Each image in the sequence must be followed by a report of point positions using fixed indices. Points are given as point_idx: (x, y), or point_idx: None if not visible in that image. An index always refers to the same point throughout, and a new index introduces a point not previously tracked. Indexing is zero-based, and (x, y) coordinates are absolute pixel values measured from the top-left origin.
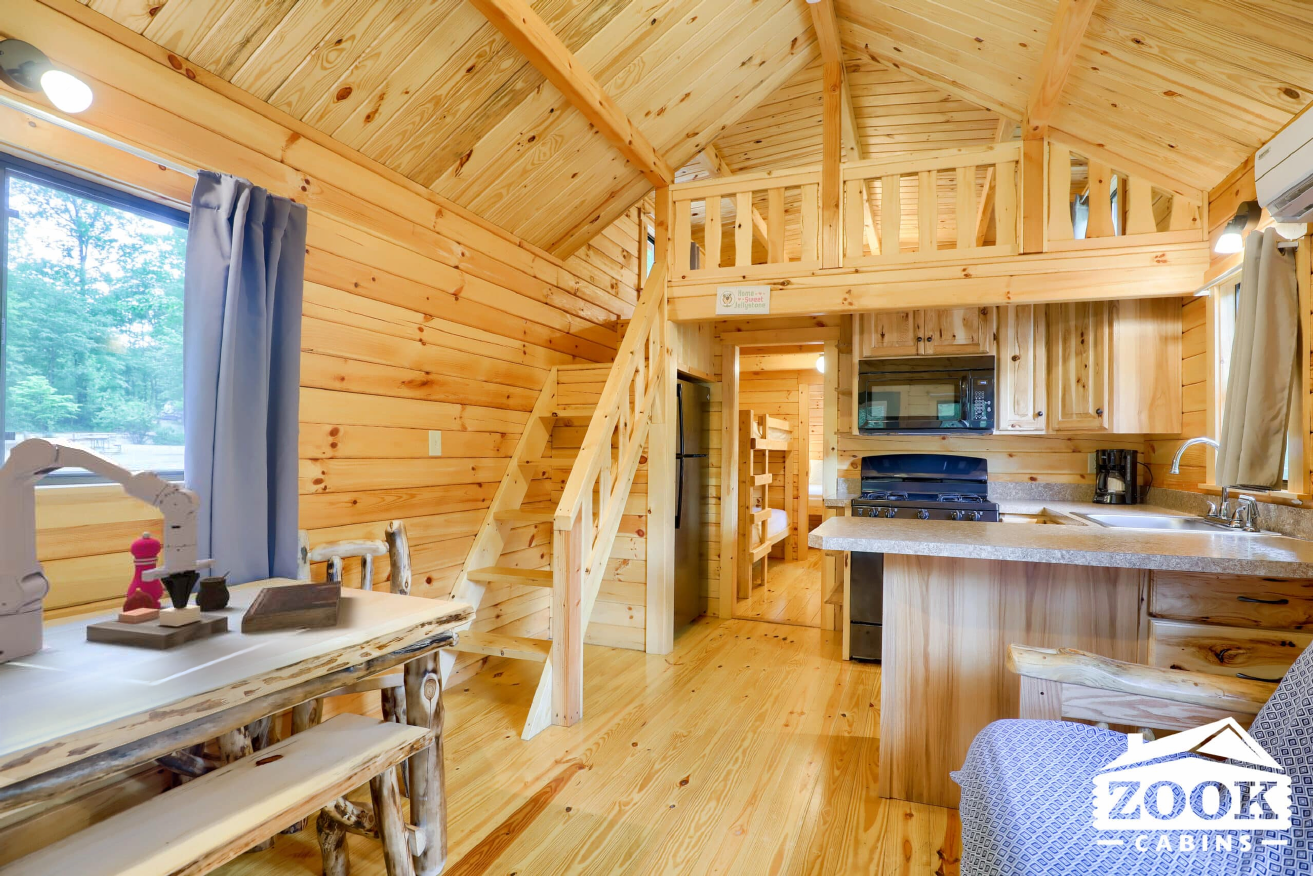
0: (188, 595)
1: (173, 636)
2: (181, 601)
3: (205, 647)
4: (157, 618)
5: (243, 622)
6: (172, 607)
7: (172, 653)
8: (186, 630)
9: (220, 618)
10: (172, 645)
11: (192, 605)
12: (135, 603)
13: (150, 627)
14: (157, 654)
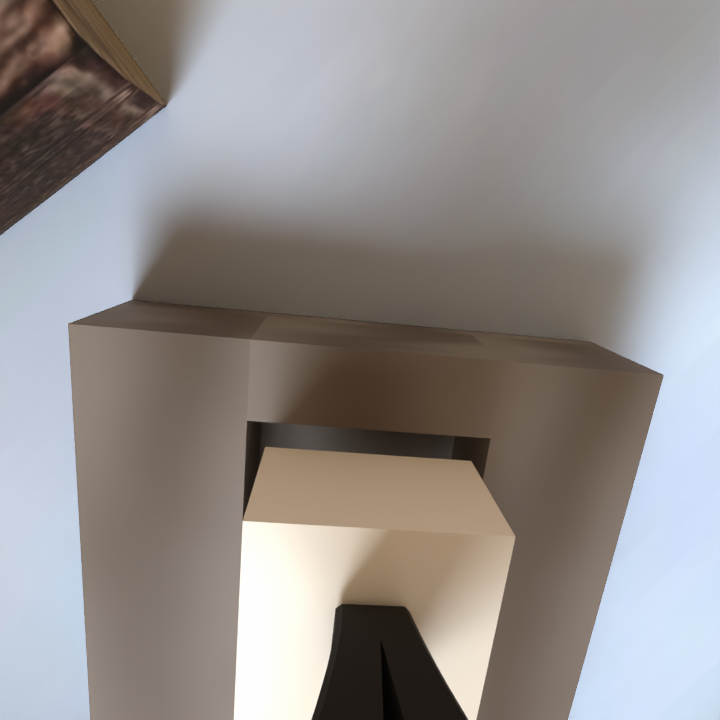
0: (345, 717)
1: (574, 360)
2: (433, 666)
3: (467, 154)
4: None
5: (113, 59)
6: None
7: (601, 275)
8: (478, 355)
9: (142, 337)
10: (552, 344)
11: (238, 621)
12: None
13: None
14: (623, 351)
